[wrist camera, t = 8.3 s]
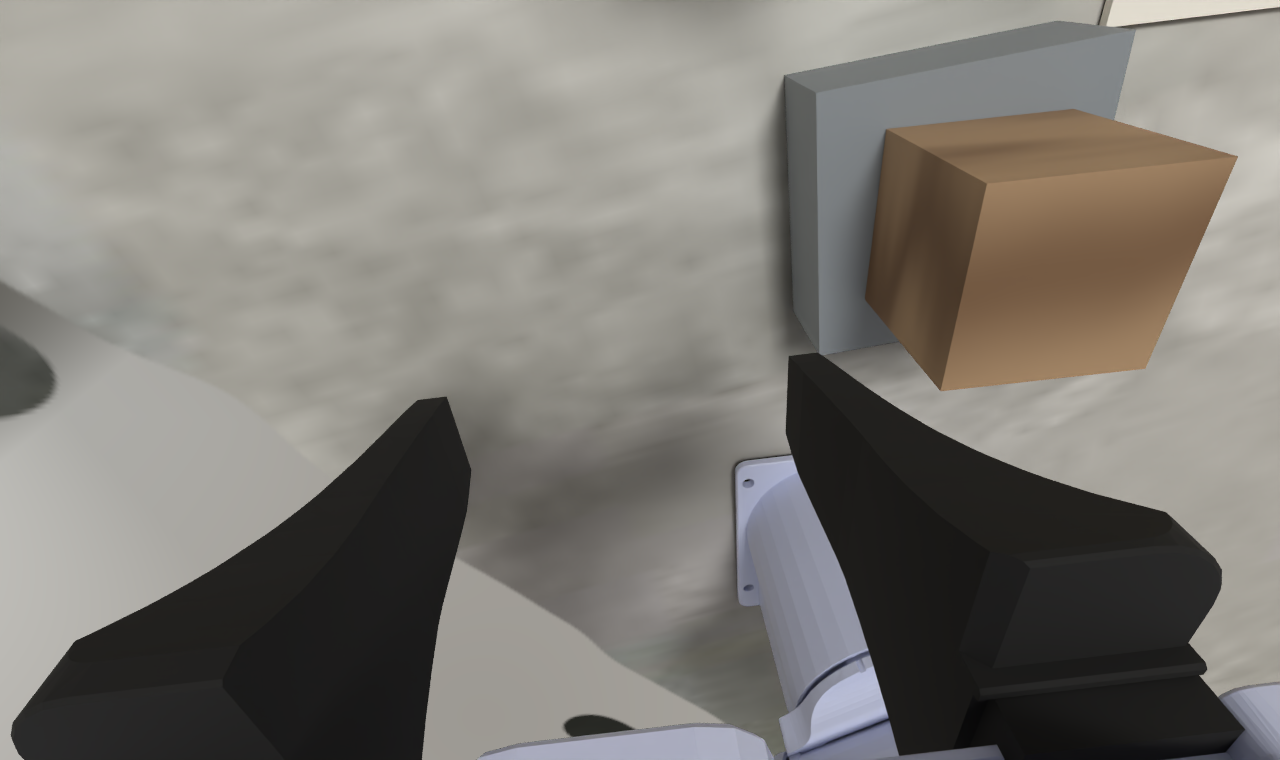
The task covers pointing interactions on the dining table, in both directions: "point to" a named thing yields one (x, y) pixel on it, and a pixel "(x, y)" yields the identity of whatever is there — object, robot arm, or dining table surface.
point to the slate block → (901, 97)
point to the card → (1173, 9)
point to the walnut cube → (1035, 243)
